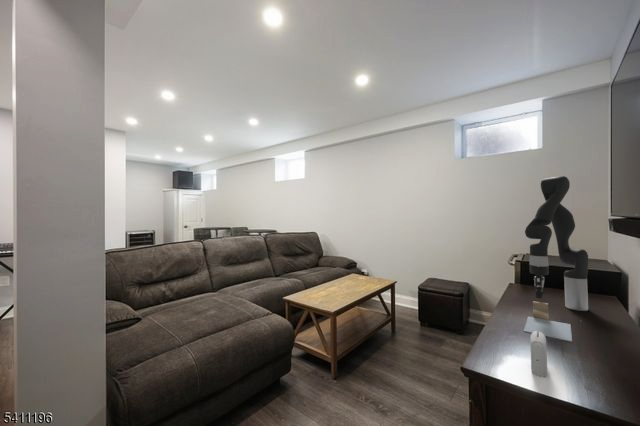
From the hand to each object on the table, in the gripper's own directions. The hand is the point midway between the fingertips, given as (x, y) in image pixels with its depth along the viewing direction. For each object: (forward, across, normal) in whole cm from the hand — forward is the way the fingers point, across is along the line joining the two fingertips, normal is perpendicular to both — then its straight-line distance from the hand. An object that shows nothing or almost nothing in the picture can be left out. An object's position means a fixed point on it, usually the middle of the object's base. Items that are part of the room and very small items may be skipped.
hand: (539, 296), depth 135 cm
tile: (+11, 0, 0) cm, 11 cm away
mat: (+11, +13, +3) cm, 17 cm away
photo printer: (+12, +57, +2) cm, 58 cm away
